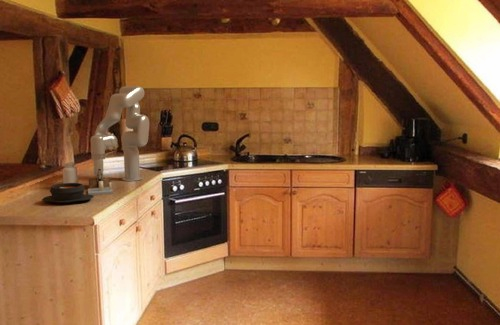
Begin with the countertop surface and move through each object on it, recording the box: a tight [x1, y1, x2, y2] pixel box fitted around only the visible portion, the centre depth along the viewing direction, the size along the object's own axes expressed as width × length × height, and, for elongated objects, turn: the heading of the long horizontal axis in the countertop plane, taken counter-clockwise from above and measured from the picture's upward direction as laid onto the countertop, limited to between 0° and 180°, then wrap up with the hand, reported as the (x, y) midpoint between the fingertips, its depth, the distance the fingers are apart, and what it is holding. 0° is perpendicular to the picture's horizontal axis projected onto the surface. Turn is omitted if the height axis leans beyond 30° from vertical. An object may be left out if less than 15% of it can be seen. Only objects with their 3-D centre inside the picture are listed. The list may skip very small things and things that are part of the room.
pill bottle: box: [62, 162, 79, 184], centre depth 256 cm, size 8×8×15 cm
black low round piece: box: [41, 182, 95, 205], centre depth 223 cm, size 25×19×8 cm
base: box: [87, 181, 114, 196], centre depth 245 cm, size 13×13×6 cm
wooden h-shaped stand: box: [88, 177, 112, 189], centre depth 258 cm, size 12×6×5 cm, turn 112°
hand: (99, 186), depth 258 cm, fingers closed on wooden h-shaped stand, 6 cm apart
